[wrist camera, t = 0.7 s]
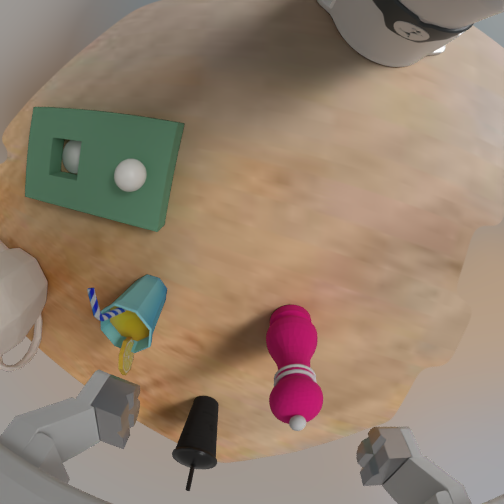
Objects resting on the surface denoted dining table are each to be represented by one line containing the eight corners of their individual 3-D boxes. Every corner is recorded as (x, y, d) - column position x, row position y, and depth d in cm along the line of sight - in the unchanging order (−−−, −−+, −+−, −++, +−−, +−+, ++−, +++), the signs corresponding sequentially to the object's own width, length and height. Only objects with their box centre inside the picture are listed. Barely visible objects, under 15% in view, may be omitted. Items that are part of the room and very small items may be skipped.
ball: (125, 154, 34) (110, 157, 31) (154, 160, 35) (141, 163, 31) (121, 185, 36) (106, 191, 32) (148, 191, 36) (135, 198, 32)
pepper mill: (308, 342, 47) (321, 446, 28) (263, 337, 47) (257, 443, 28) (318, 304, 44) (342, 410, 26) (270, 298, 44) (268, 406, 26)
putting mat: (45, 107, 34) (33, 107, 32) (184, 123, 35) (177, 122, 33) (36, 192, 40) (25, 196, 37) (164, 224, 41) (157, 231, 38)
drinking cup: (209, 418, 56) (193, 500, 38) (180, 400, 54) (155, 484, 36) (233, 405, 54) (221, 494, 35) (203, 385, 52) (181, 477, 34)
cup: (116, 244, 42) (60, 293, 28) (162, 238, 42) (115, 290, 28) (141, 323, 47) (104, 385, 34) (184, 321, 47) (156, 390, 33)
